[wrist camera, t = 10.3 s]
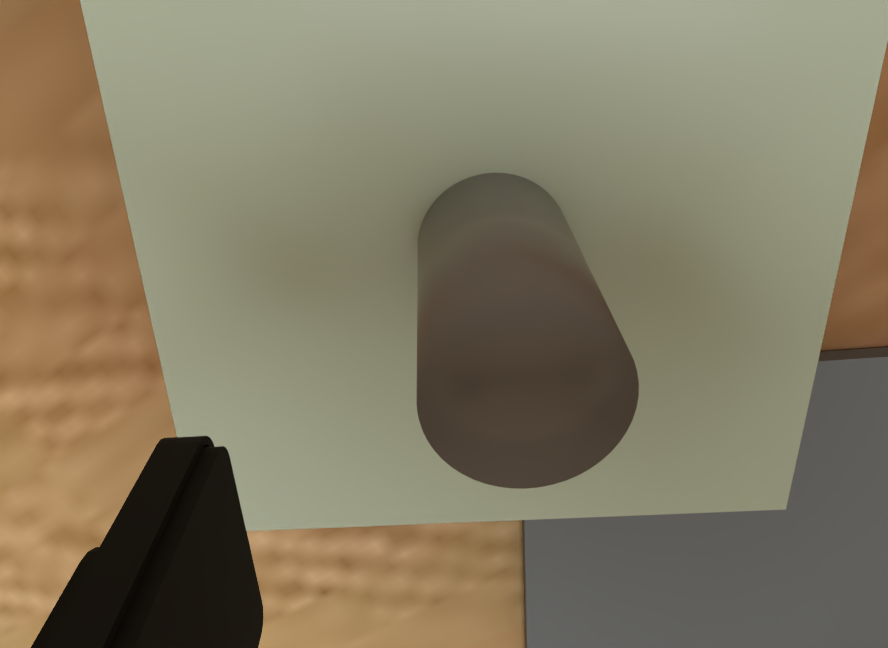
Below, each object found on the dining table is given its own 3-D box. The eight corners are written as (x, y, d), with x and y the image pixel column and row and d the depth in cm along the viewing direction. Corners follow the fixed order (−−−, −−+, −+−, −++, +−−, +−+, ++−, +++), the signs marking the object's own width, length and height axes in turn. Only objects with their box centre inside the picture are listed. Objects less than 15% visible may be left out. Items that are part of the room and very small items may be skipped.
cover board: (773, 489, 21) (917, 721, 15) (206, 511, 21) (117, 755, 15) (909, -179, 14) (1281, -253, 8) (63, -153, 14) (-212, -209, 8)
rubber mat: (943, 702, 34) (951, 714, 33) (527, 730, 34) (529, 742, 34) (1067, 334, 26) (1081, 343, 25) (519, 372, 26) (521, 381, 25)
